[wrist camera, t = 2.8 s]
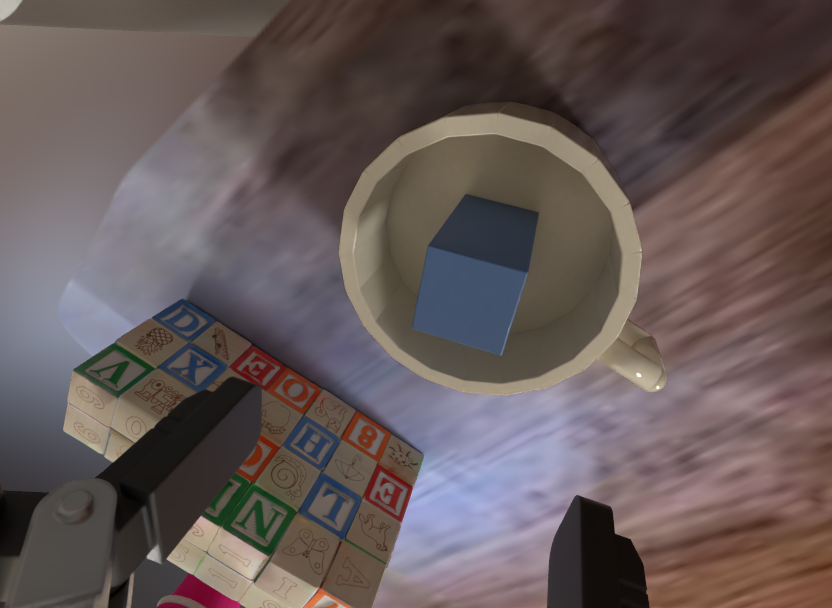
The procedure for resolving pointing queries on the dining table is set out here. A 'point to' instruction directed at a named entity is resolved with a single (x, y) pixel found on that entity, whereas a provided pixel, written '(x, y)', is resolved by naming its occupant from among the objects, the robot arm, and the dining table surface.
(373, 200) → the mug
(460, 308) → the block
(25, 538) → the robot arm
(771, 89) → the dining table surface
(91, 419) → the stack of blocks
